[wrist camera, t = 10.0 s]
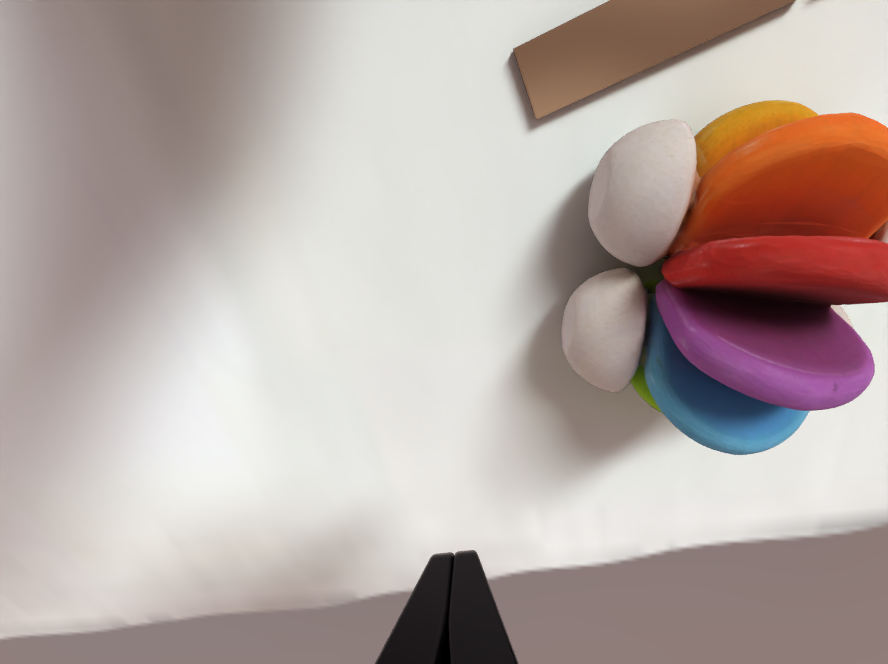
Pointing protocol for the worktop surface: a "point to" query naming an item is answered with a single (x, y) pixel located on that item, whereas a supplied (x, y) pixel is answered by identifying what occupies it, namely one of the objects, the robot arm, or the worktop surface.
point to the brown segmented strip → (622, 44)
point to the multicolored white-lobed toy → (736, 269)
